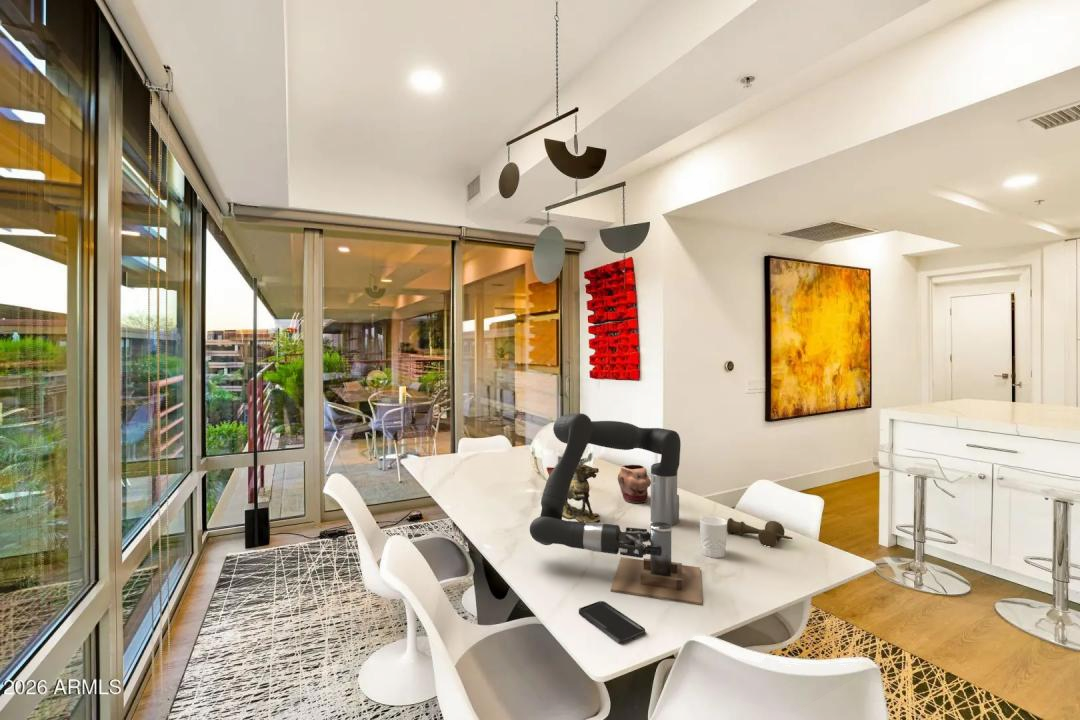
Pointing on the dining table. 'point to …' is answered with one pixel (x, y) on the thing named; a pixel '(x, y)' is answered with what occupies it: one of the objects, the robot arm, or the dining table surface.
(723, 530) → the white cup
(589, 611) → the phone
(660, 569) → the graphite canister
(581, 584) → the dining table surface
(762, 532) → the kendama
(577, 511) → the figurine
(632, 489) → the decorative planter
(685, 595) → the walnut bracket
